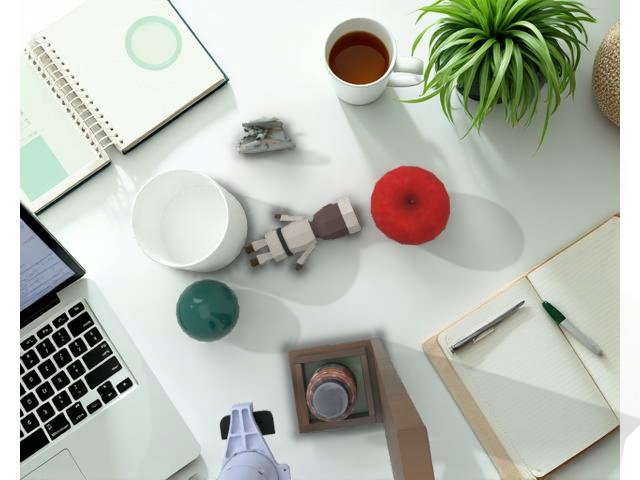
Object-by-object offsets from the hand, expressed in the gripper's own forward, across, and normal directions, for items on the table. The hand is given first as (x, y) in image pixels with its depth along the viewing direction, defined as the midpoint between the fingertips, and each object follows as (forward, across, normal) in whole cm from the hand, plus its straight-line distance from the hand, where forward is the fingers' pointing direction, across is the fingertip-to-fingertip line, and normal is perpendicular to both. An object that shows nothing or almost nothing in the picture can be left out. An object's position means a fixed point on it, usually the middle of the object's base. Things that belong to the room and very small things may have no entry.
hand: (262, 453), depth 70 cm
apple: (+12, +26, -21) cm, 35 cm away
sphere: (+11, +17, +6) cm, 21 cm away
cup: (+12, +28, +6) cm, 31 cm away
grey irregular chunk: (+12, +38, -4) cm, 41 cm away
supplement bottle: (+10, +5, -9) cm, 14 cm away
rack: (+10, +5, -9) cm, 15 cm away
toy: (+12, +25, -7) cm, 28 cm away
